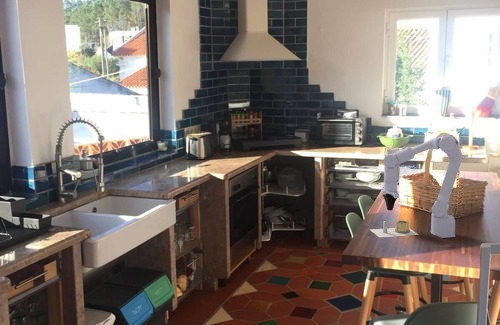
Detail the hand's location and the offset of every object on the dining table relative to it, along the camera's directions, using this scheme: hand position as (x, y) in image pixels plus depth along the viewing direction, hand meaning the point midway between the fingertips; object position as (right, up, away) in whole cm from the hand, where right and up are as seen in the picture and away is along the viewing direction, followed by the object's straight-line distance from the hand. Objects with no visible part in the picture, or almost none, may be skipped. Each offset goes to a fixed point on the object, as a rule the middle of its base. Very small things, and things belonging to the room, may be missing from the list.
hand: (389, 210), depth 252 cm
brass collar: (+4, -8, -4) cm, 10 cm away
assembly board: (+1, -10, -4) cm, 11 cm away
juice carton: (+26, +8, +100) cm, 104 cm away
